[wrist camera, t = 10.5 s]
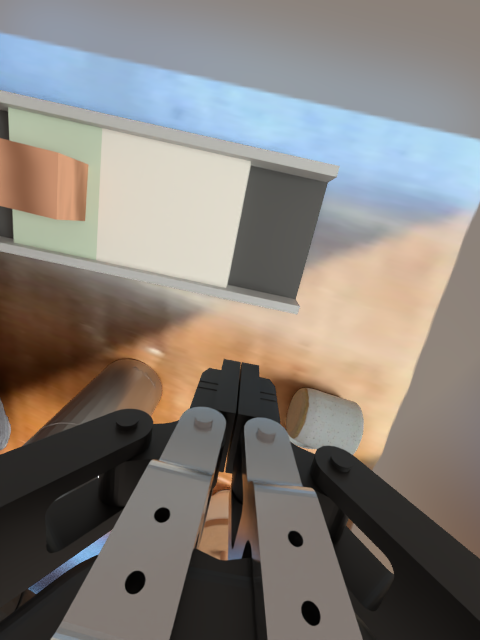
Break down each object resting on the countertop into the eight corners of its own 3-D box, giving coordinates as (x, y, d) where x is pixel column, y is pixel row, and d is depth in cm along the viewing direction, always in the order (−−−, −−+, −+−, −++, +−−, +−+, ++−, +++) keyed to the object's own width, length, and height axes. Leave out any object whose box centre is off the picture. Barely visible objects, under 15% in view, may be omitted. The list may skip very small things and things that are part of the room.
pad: (113, 135, 32) (102, 128, 30) (106, 258, 36) (96, 260, 34) (26, 116, 32) (8, 107, 30) (29, 241, 36) (13, 242, 34)
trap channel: (329, 173, 32) (339, 166, 28) (293, 305, 37) (297, 314, 33) (-55, 88, 31) (-97, 68, 28) (-40, 234, 36) (-74, 235, 33)
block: (88, 164, 31) (58, 152, 26) (85, 221, 33) (56, 219, 28) (34, 151, 31) (-7, 136, 26) (33, 208, 33) (-4, 205, 28)
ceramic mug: (299, 375, 40) (308, 408, 33) (352, 391, 41) (373, 427, 33) (273, 432, 44) (277, 473, 36) (323, 446, 44) (336, 490, 37)
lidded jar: (267, 520, 49) (270, 584, 40) (209, 530, 51) (199, 594, 42) (250, 473, 46) (249, 531, 37) (188, 485, 48) (174, 544, 39)
